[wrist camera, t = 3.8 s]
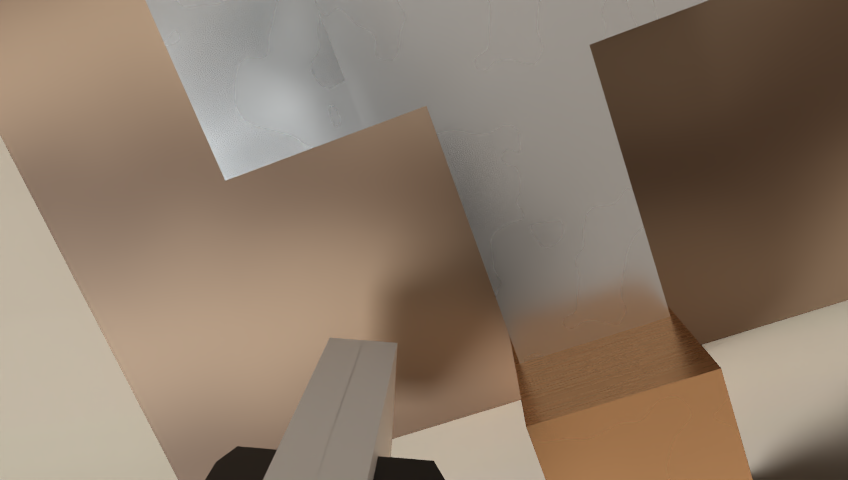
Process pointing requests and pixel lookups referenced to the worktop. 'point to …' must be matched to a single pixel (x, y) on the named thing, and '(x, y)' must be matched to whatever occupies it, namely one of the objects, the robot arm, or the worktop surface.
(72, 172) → the base board
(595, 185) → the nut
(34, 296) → the worktop surface
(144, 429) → the worktop surface
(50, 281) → the worktop surface
